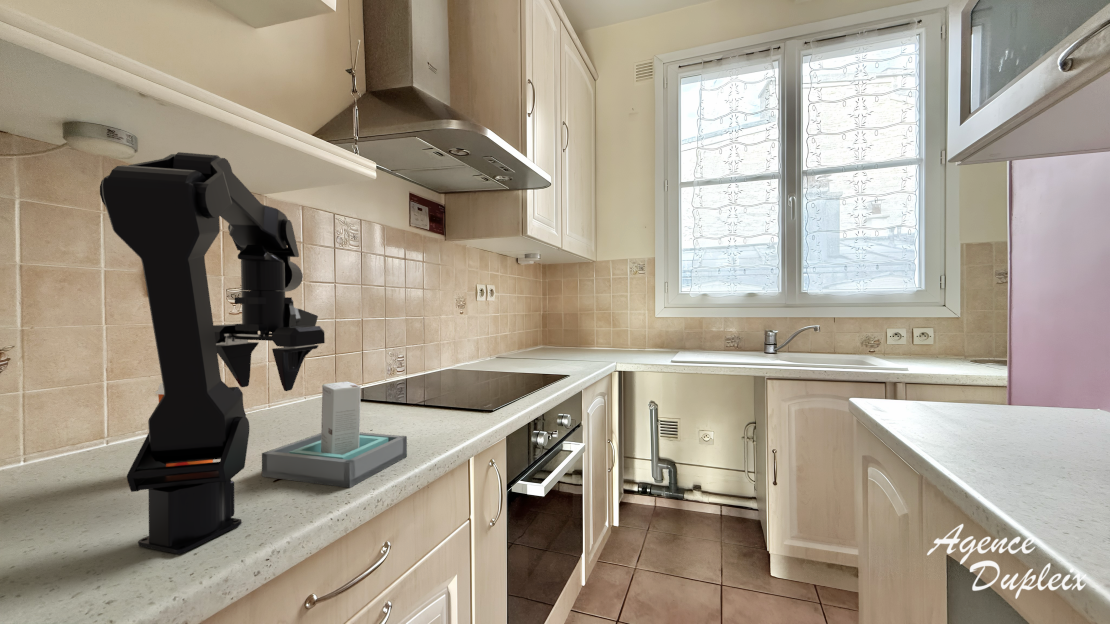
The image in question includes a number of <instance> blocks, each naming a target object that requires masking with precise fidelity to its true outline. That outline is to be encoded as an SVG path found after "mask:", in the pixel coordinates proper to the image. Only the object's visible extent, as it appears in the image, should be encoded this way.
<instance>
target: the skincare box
mask: <svg viewBox="0 0 1110 624" xmlns="http://www.w3.org/2000/svg"><path fill="white" fill-rule="evenodd" d="M321 388H322V390H321V391H322V392H321V393H322V396H321V423H320V424H321V427H320V428H321V429H320V430H321V431H320V433H321V453H330V454H340V455H343V454H346V453H348V452H350V451H353V450H355V449H357V448H359V434H360V432H361V429H360V427H361V425H360V424H361V393H362V392H361V391H362V387H361V386H360V385H358V384H356V383H354V382H350V381H339V382H332V383H331V382H330V383H325V384H322V385H321Z"/></svg>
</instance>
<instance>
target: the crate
mask: <svg viewBox="0 0 1110 624" xmlns="http://www.w3.org/2000/svg"><path fill="white" fill-rule="evenodd" d="M407 440H408V439H407V436H406V435H397V434H396V435H395V434H385V433H375V432H374V433H373V432H362V431H360V434H359V448H357V449H355V450H353V451H350V452H348V453H346V454H343V455H340V454H330V453H321V432H320V433H316V434H313V435H311V436H308V437H305V438H302V439H299V440H296V441H292V442H290V443H287V444H285V445H282V446H278V447H276V448H273V449H270V450H267V451H263V452H261V477H264V478H272V479H277V480H278V479H279V480H287V481H293V482H294V481H295V482H296V481H297V482H302V483H310V484H316V485H317V484H318V485H324V486H325V485H326V486H331V487H333V486H334V487H340V488H341V487H342V488H349V489H350V488H352V487H354V486H356V485H357V484H359V483H361V482H364V481H365V480H366V479H368V478H370V477H372V476H375V475H376V474H378V473H380V472H381V471H383V470H385V469H387V468H389V467H391V466H392V465H395V464H397V463H398V462H400V461H402V460H404V459H406V458H407V457H408V441H407Z"/></svg>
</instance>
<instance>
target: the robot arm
mask: <svg viewBox="0 0 1110 624" xmlns="http://www.w3.org/2000/svg"><path fill="white" fill-rule="evenodd" d="M99 196H100V198H101V202H102V204H103V205H104V206H105V209H106V212H107V215H108V218H109V222H110V225H111V228H112V230H113V233H114V234H115V235H117V236H118V238H120V239H121V240H122V241H123V242H124V243H125V244H126V245H127V246H128V248H130V249H131V251H133V252H134V253H135V254H136V255H137V256H138V257H139V259H140V261H141V264H142V271H143V275H144V282H145V286H146V293H147V299H148V300H147V301H148V305H149V311H150V316H151V317H150V318H151V321H152V328H153V333H154V339H155V341H154V342H155V345H156V352H157V357H158V364H159V369H160V375H161V376H160V377H161V381H162V382H161V383H163V388H164V396H163V397H162V399H161V400H160V402H159V401H158V404H157V405H156V407H155V409H154V410H153V412H152V414H151V415H150V416H149V418H148V421H147V422H148V425H147V426H148V433H147V435H146V437H145V439H144V442H143V443H142V445H141V447H140V449H139V451H138V453H137V454H136V457H135V459H134V461H133V463H132V465H131V466H130V468H129V470H128V472H127V473H126V480H127V484H128V486H129V490H130V493H133V492H139V491H145V490H148V536H145V537H142V538H141V539H139V540H137V546H139V547H143V548H146V549H152V550H156V551H162V552H166V553H171V554H176V555H180V554H184V553H186V552H188V551H190V550H192V549H194V548H196V547H198V546H200V545H202V544H204V543H206V542H209V541H210V540H213V539H214V538H216V537H219V536H220V535H223V534H225V533H227V532H229V531H231V530H233V529H235V528H237V527H239V526H241V525H242V519H240V518H237V517H235V518H234V516H235V511H236V510H235V481H233V480H232V479H233V478H234V477H235V476H236V475H238V474H239V473H240V472H241V471H242V470H244V469H245V467H246V460H247V459H246V458H247V451H248V445H249V437H250V421H249V419H248V418H247V414H246V411H245V408H244V397H243V396H244V394H243V391H242V390H241V388H245V387H248V386H250V385H249V384H250V378H251V368H252V367H251V363H252V353H253V352H254V350H255V349H256V347H258V345H259V343H260V342H257V341H270V342H271V341H272V342H273V343H274V344H275V346H276V348H272V349H271V350H272V354H273V359H274V361H275V362H274V363H275V365H276V369H277V372H278V376H279V380H280V383H281V386H282V388H283V391H284V392H289V391H291V390H293V388H294V385H295V383H296V379H297V377H298V374H299V371H300V368H301V366H302V364H303V362H304V360H305V358H306V356H307V355H309V354H310V353H311V351H312V350H316V349H318V348H319V345H323V344H325V343H326V339H325V330H324V329H323V328H322V327H321V326H320V325H317V321H318V318H319V316H318V315H317V314H314V313H312V312H309V311H306V310H303V309H301V308H298V307H295V306H294V299H293V298H292V297H290V296H289V297H286V293H287V292H292V291H295V290H296V289H297V288H298V287H300V286H301V284H302V281H303V278H304V275H303V272H302V270H301V267H300V266H298V264H297V263H295V262H293V261H291V258H299V257H300V254H299V247H298V244H297V239H296V236H295V231H294V227H293V223H292V221H291V220H290V219H289V218H288V216H287V215H286V214H285V213H284V212H283V211H281V210H279V209H278V208H276V207H272V206H269V205H265V204H263V203H261V202H260V200H258V199H257V198H256V197H255V195H254V194H253V193H252V192H251V191H250V190H249V189H248V188H247V186H245V184H244V183H243V182H242V181H241V180H240V179H239V178H238V177H237V176H236V175H235V174H234V172H233V168H232V165H231V164H230V161H229V160H228V159H227V158H225V157H220V156H219V155H217V154H208V153H207V154H205V153H203V154H202V153H193V152H181V151H180V152H177V153H171V154H169V155H167V156H165V157H164V158H159V159H153V160H149V161H144V162H138V163H133V164H129V165H127V164H126V165H125V164H123V165H117V166H115V167H114V168H113V169H111V171H110V173H109V174H108V175H107V176H105V177H104V178H103V179H101V182H100V185H99ZM220 218H221V219H223V220H224V221H225V222H227V224H228V226H227V230H228V232H229V234H228V235H229V236H230V237H231V239H232V241H233V243H234V245H235V247H236V249H237V251H239V253H238V255H237V259H238V260H240V279H241V280H240V281H241V283H240V285H241V287H240V288H241V296H240V297H238V296H237V297H234V304H235V305H236V304H237V305H241V323H233V324H232V323H231V324H229V323H228V324H214V321H213V320H214V318H213V312H212V305H211V297H210V290H209V284H208V275H207V268H206V260H205V256H206V254H207V253H208V251H209V249H210V248H211V246H212V245H213V243H214V242H215V240H216V238H217V237H218V235H219V234H220V228H221V227H220V226H221V225H220V224H221V223H220ZM255 341H256V342H255ZM218 356H219V357H220V360H222V362H223V363H224V365H226V367H227V369H228V370H229V371H230V373H231V375H232V376H233V378H234V379H235V381H236V382H237V383H238V385H239V386H228V385H227V384H226V383H225V382H223V381H222V378H221V371H220V364H219V357H218ZM203 460H213V462H212V463H201V464H190V465H179V466H168V467H166V464H170V463H181V462H192V461H203ZM214 460H219V461H215V462H214Z"/></svg>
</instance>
